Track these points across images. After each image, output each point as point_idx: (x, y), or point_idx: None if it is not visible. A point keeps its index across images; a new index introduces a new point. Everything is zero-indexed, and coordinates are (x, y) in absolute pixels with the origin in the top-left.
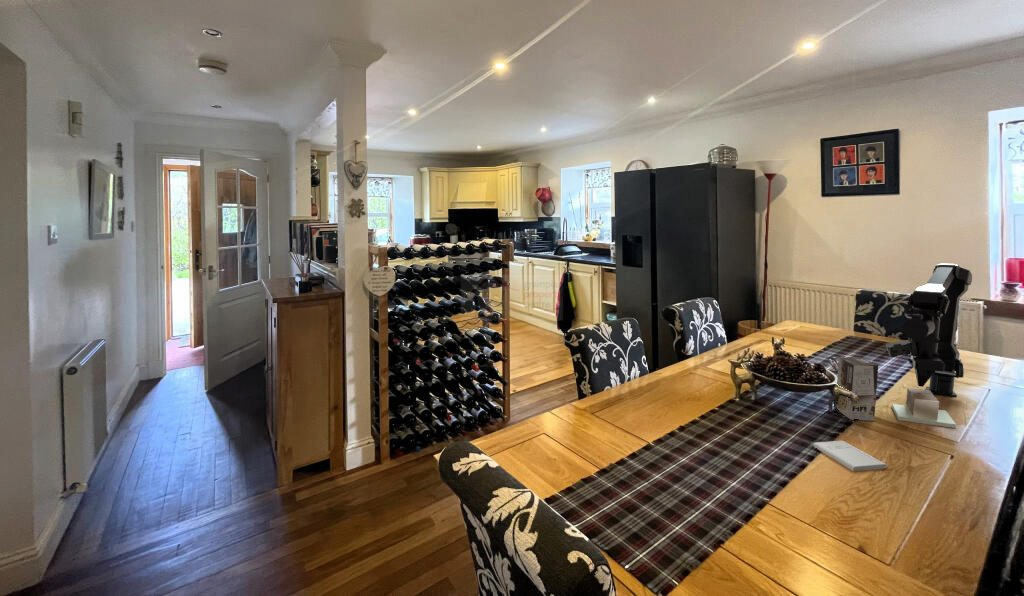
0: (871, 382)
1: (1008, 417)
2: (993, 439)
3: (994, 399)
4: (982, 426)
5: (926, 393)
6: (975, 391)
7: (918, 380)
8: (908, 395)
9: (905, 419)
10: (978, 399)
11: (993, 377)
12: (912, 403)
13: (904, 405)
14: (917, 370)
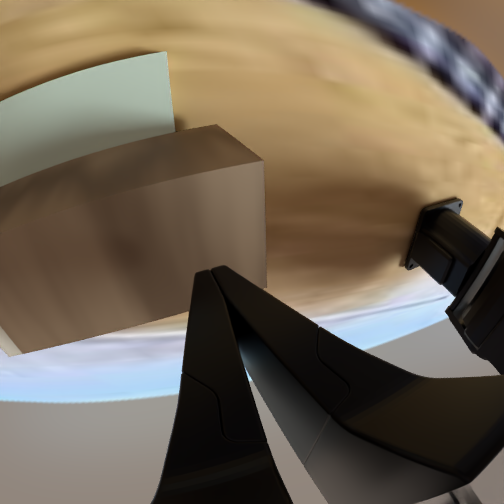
0: None
1: None
2: (27, 379)
3: (394, 320)
4: (125, 359)
5: (156, 290)
6: (437, 285)
7: (190, 323)
8: (180, 156)
9: None
10: (392, 302)
11: None
12: (15, 201)
13: (170, 117)
14: (162, 480)
